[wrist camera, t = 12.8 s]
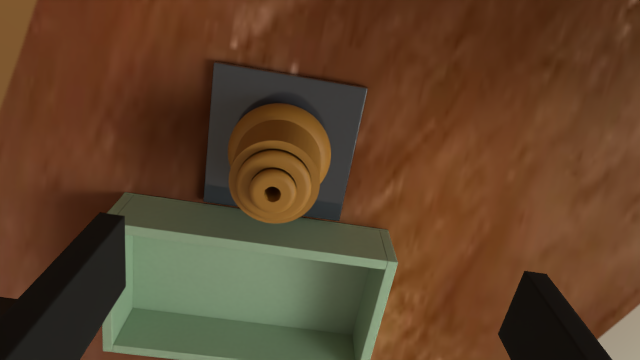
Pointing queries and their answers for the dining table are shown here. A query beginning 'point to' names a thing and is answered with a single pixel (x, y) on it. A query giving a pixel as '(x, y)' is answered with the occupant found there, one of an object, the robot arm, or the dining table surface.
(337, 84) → the slate tile
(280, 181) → the ornamental finial
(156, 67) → the dining table surface
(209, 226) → the tote
